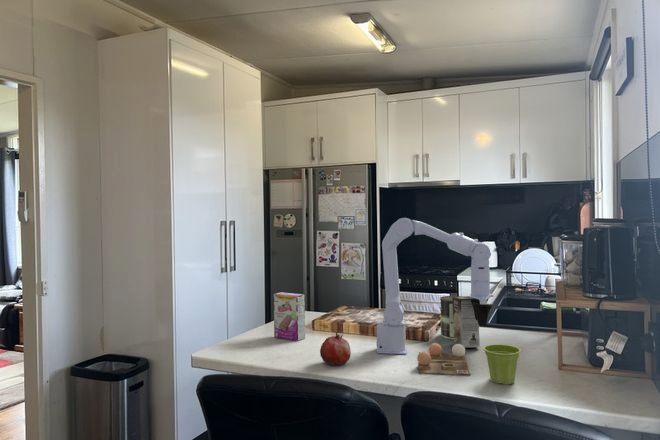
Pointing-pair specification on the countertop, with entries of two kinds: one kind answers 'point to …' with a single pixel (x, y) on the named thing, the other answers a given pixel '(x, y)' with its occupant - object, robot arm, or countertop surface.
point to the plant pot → (502, 362)
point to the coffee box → (465, 322)
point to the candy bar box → (289, 316)
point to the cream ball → (458, 350)
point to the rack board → (445, 365)
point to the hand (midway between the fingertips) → (480, 322)
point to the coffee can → (447, 317)
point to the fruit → (335, 350)
